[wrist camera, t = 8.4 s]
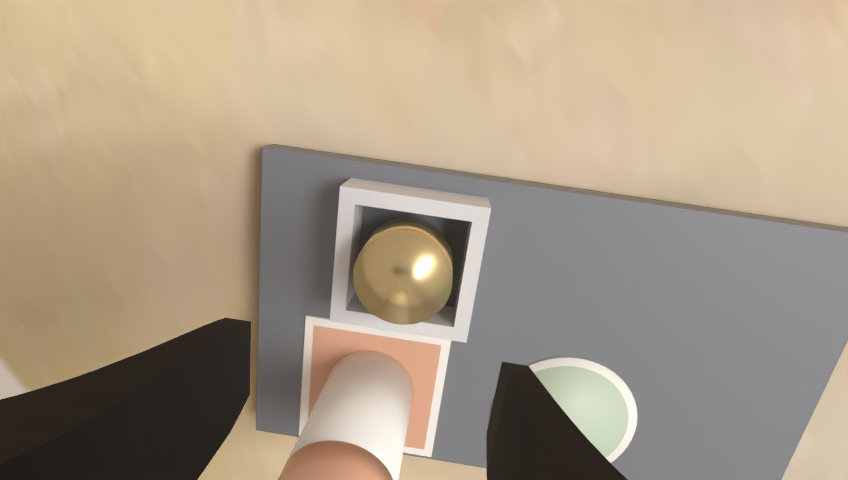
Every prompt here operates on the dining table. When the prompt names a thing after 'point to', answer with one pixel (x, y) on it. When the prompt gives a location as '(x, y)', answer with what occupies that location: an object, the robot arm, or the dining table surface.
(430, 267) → the button
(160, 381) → the robot arm
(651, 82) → the dining table surface
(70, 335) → the dining table surface
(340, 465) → the white cylinder
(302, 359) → the board
